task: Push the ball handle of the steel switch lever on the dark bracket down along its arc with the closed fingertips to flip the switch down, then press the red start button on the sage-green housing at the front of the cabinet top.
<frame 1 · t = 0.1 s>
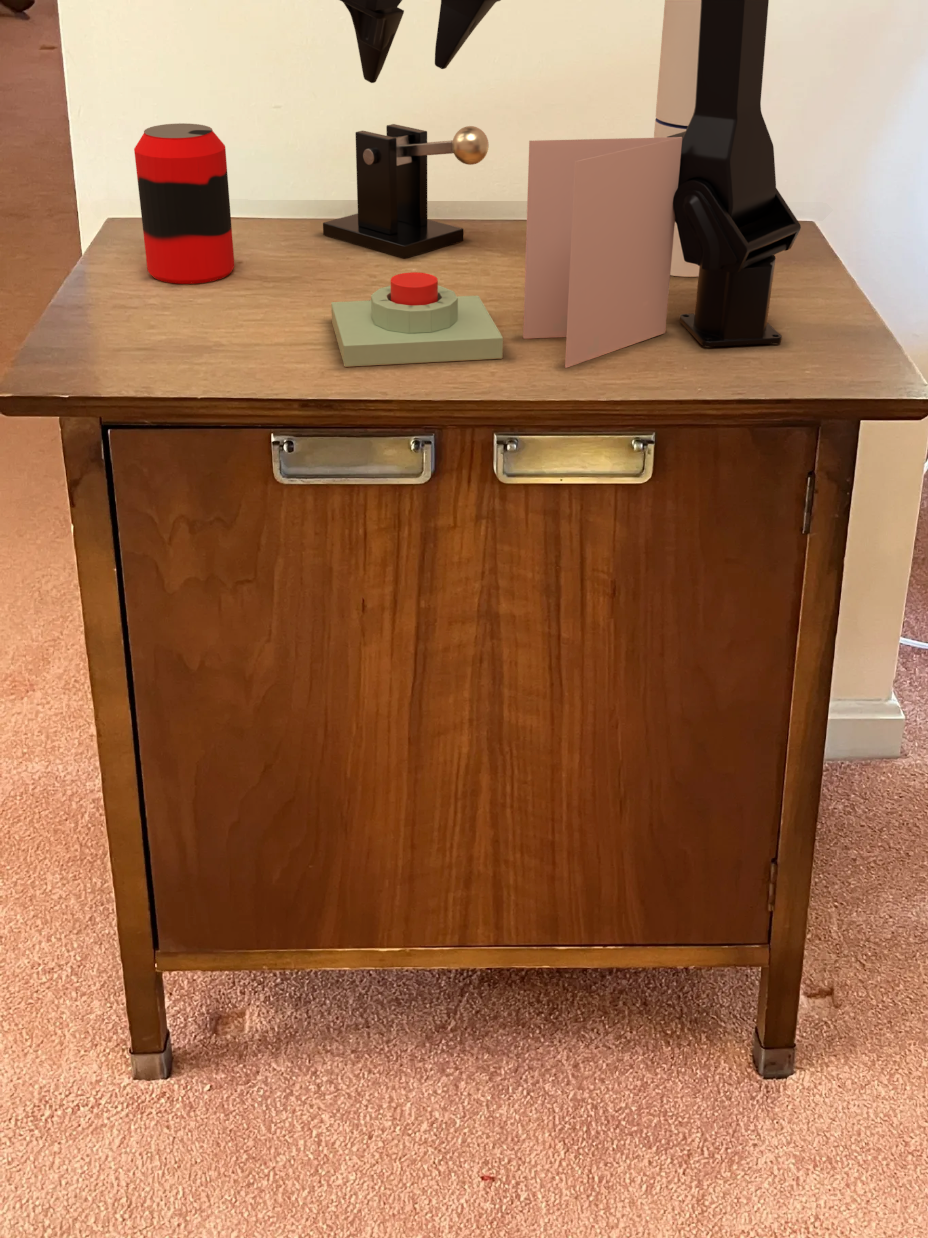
hand: (405, 74, 119), 15 cm above the table, tool pointing down, fingers open, 9 cm apart
switch bracket: (393, 238, 130), on the table
button housing: (414, 340, 107), on the table
cylindrical container: (683, 266, 124), on the table
soda can: (191, 273, 121), on the table
lever: (430, 148, 123), point 9 cm above the table, hinge at 12.0°
greeting card: (602, 350, 105), on the table, touching arm
start button: (414, 290, 104), point 4 cm above the table, slide at 0.1 cm
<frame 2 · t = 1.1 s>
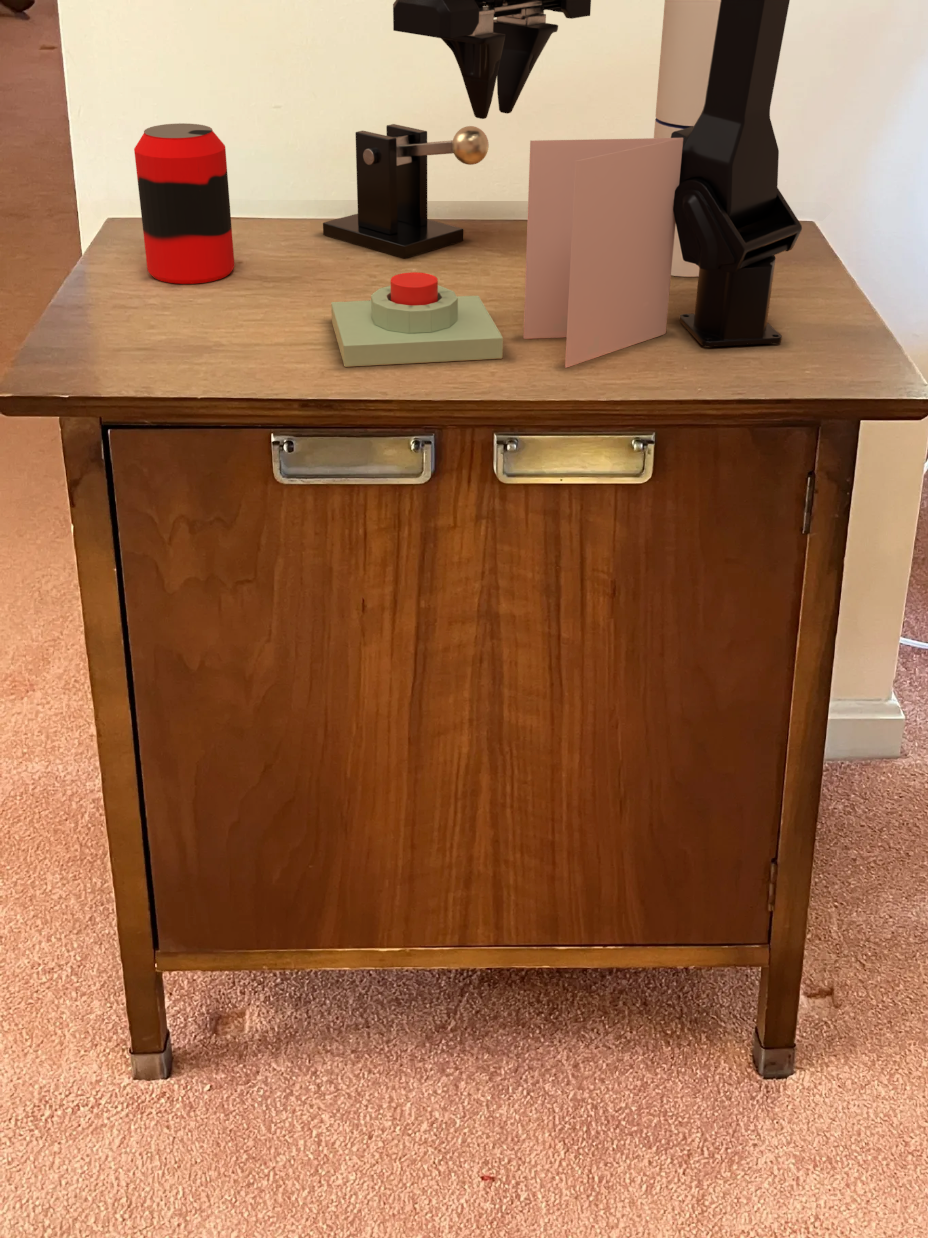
hand: (493, 115, 116), 13 cm above the table, tool pointing down, fingers open, 3 cm apart
greeting card: (602, 351, 105), on the table
everything else where it was.
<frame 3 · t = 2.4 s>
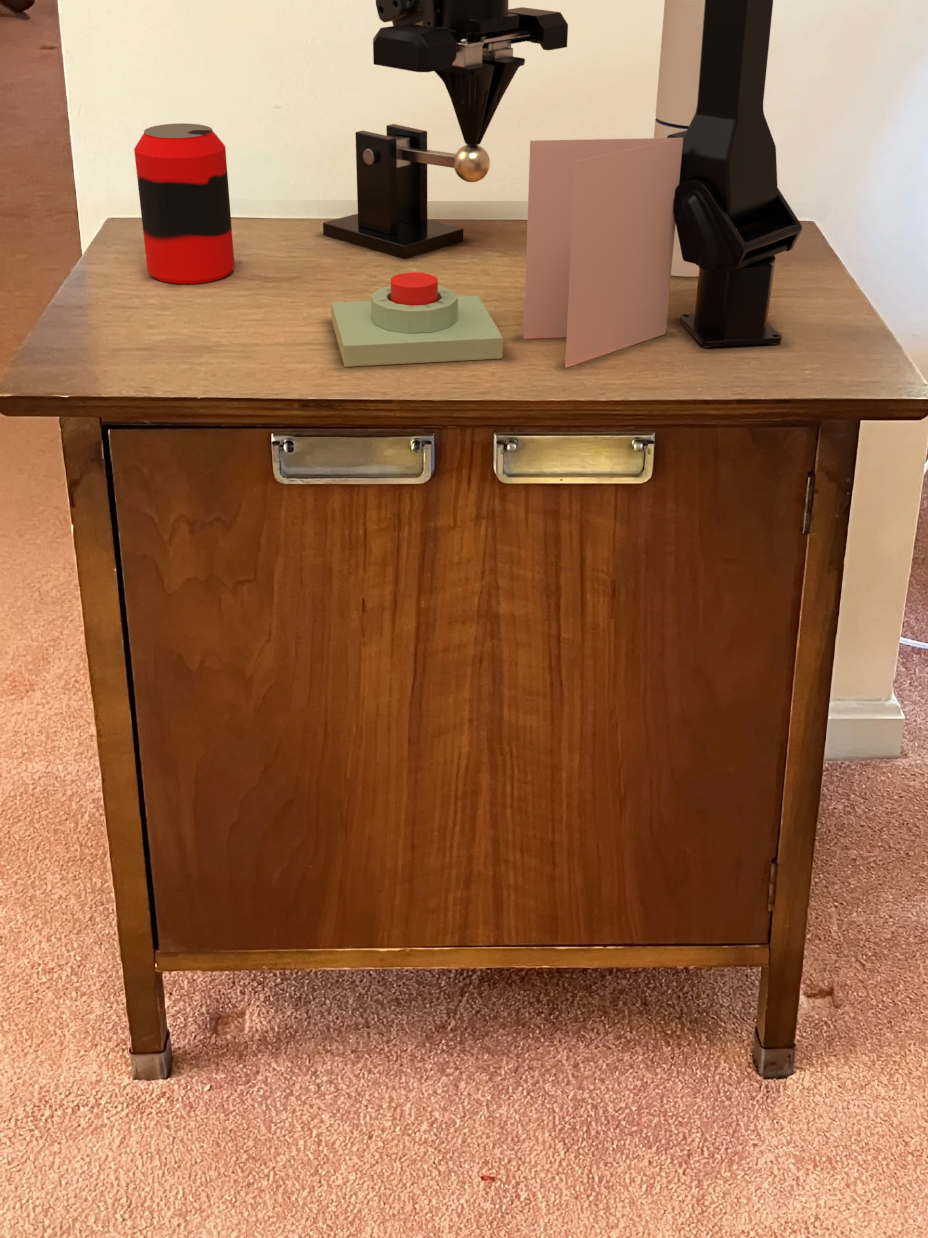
hand: (472, 144, 119), 10 cm above the table, tool pointing down, fingers closed, pressing on lever
lever: (431, 157, 123), point 8 cm above the table, hinge at 3.4°, touching gripper
everything else where it was.
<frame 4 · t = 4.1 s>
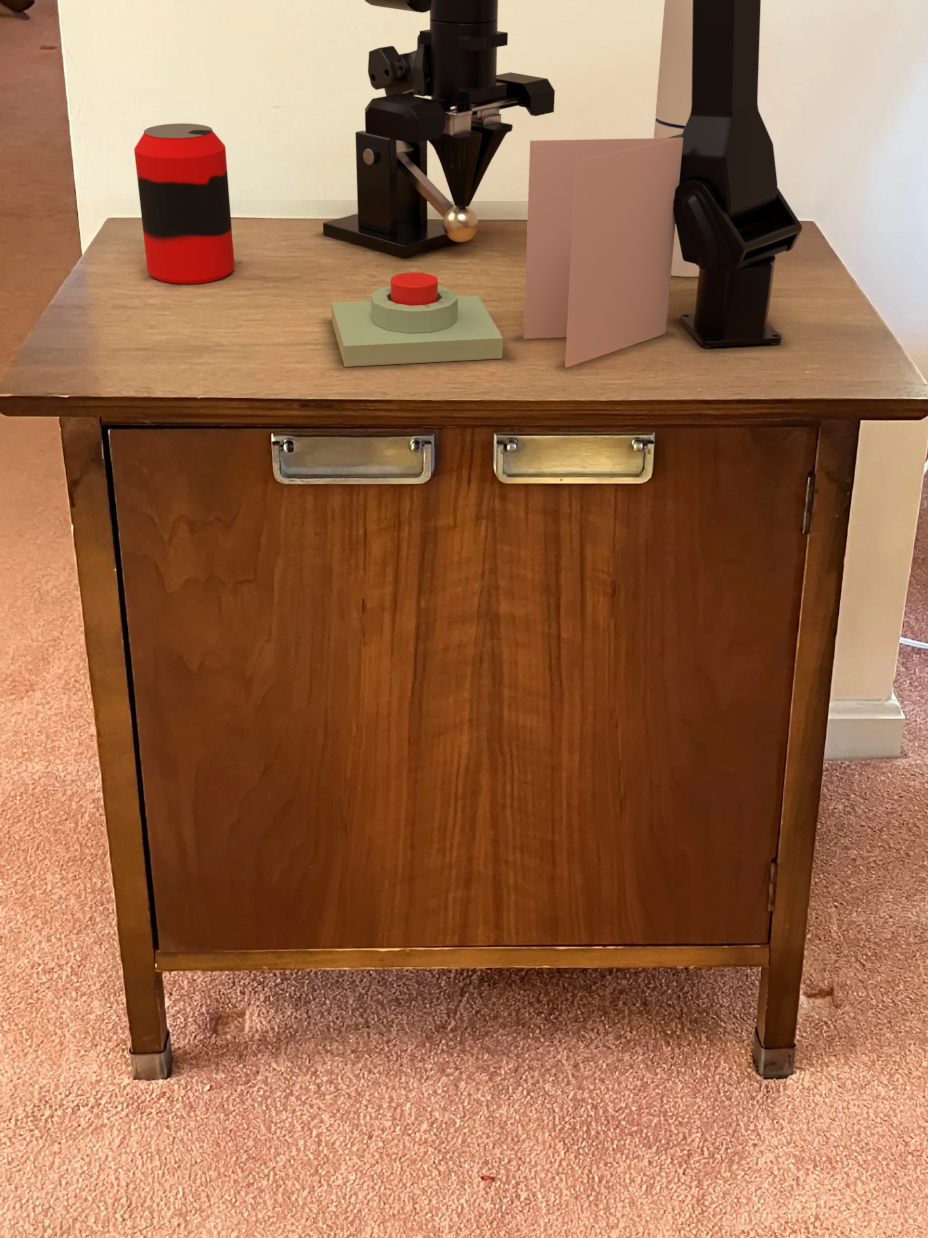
hand: (461, 206, 123), 5 cm above the table, tool pointing down, fingers closed, pressing on lever
lever: (426, 188, 125), point 5 cm above the table, hinge at -29.8°, touching gripper
everything else where it was.
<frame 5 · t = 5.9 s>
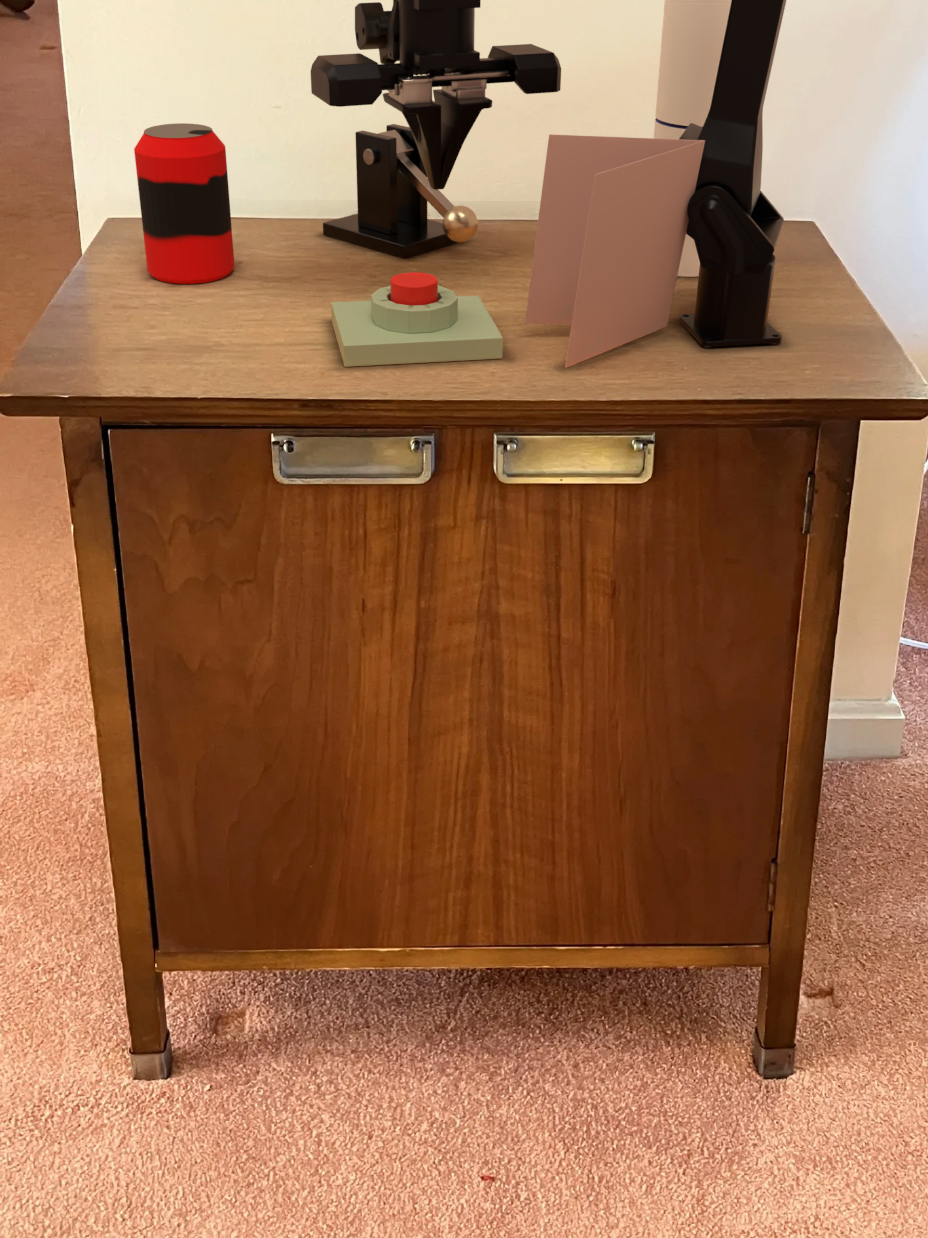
hand: (437, 188, 110), 9 cm above the table, tool pointing down, fingers closed
lever: (426, 188, 125), point 5 cm above the table, hinge at -29.9°
greeting card: (602, 345, 105), on the table, touching arm
everything else where it was.
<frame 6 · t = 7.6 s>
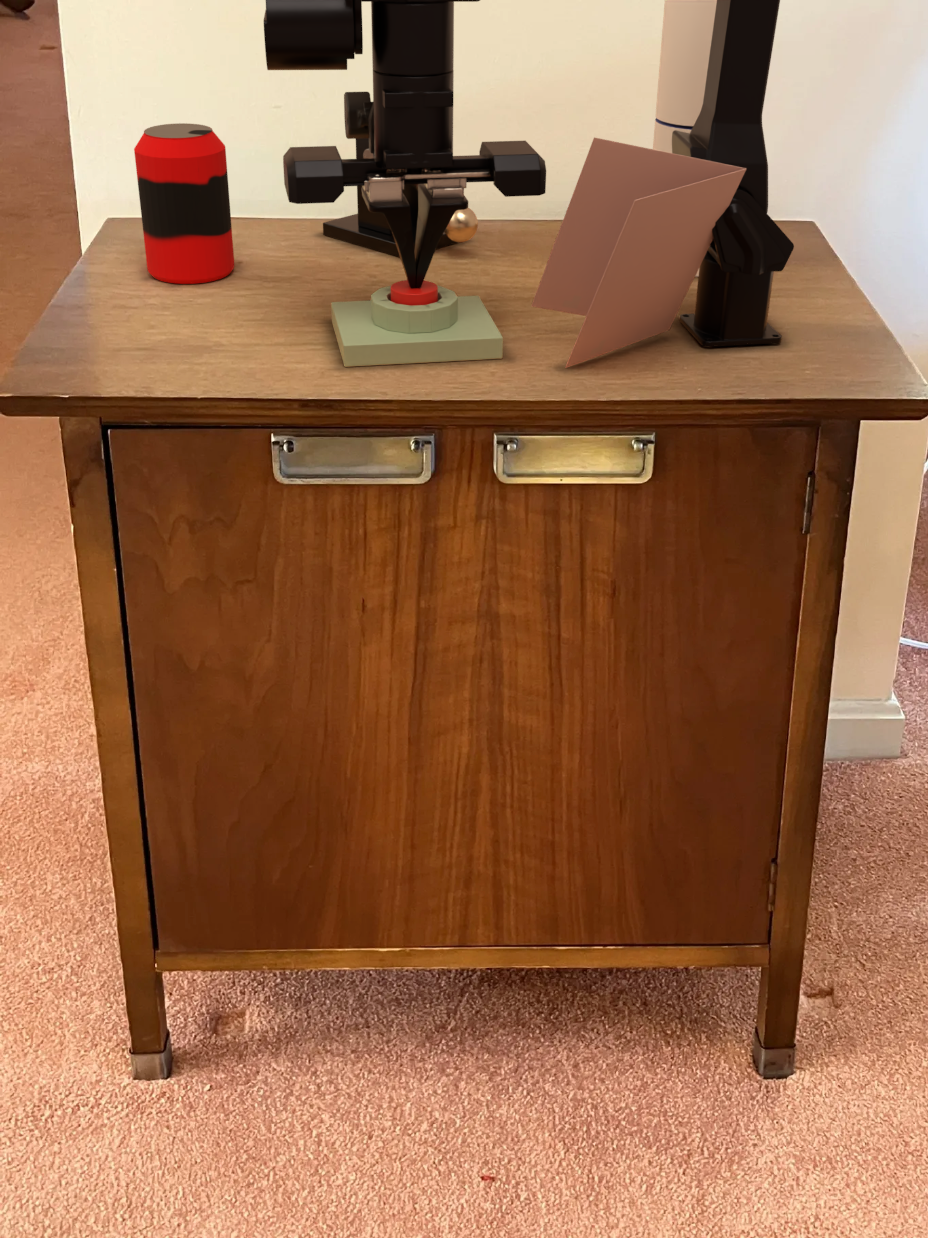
hand: (414, 286, 104), 4 cm above the table, tool pointing down, fingers closed, pressing on start button
start button: (414, 297, 105), point 3 cm above the table, slide at -0.5 cm, touching gripper
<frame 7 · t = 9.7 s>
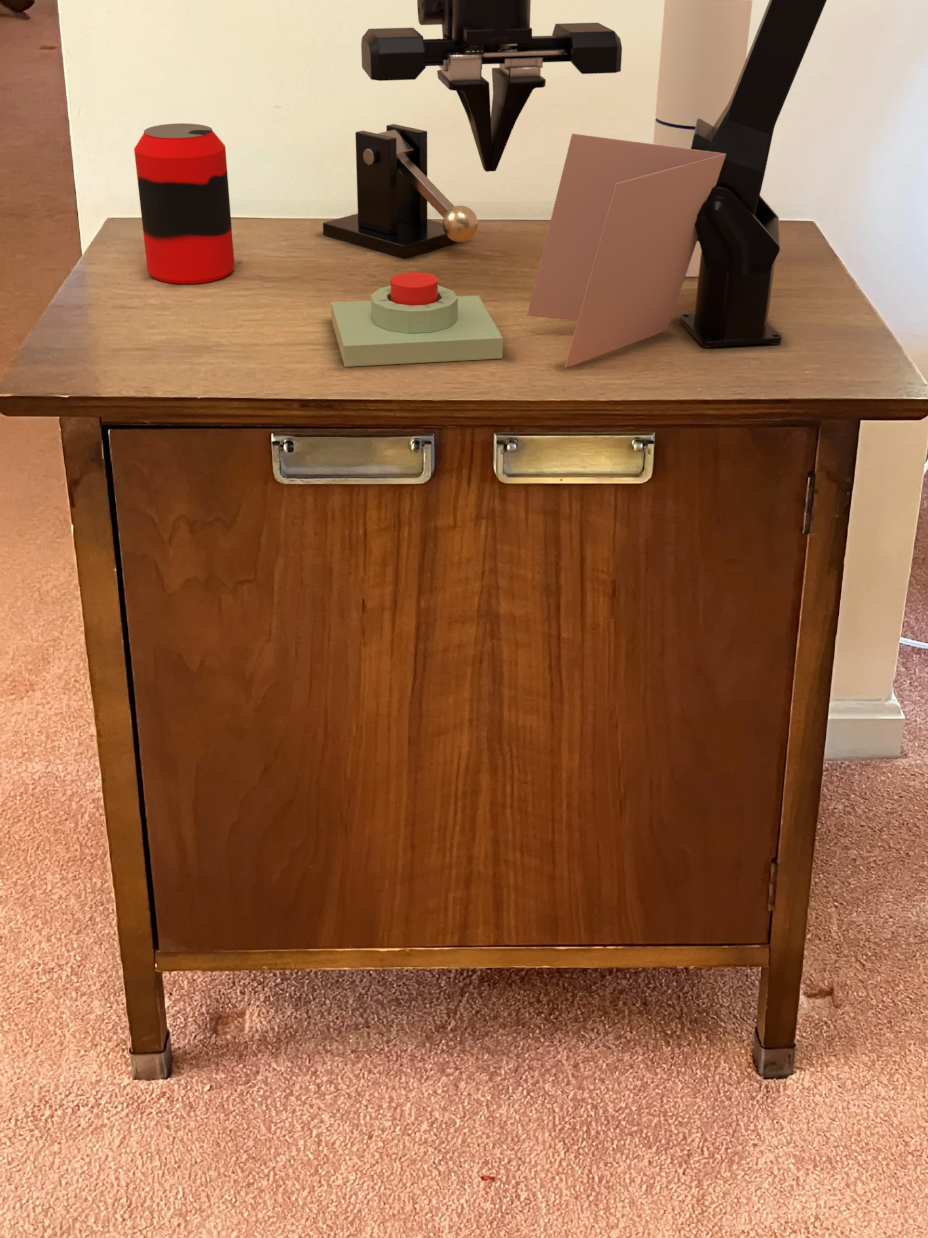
hand: (489, 170, 106), 12 cm above the table, tool pointing down, fingers closed
start button: (414, 290, 104), point 4 cm above the table, slide at 0.1 cm
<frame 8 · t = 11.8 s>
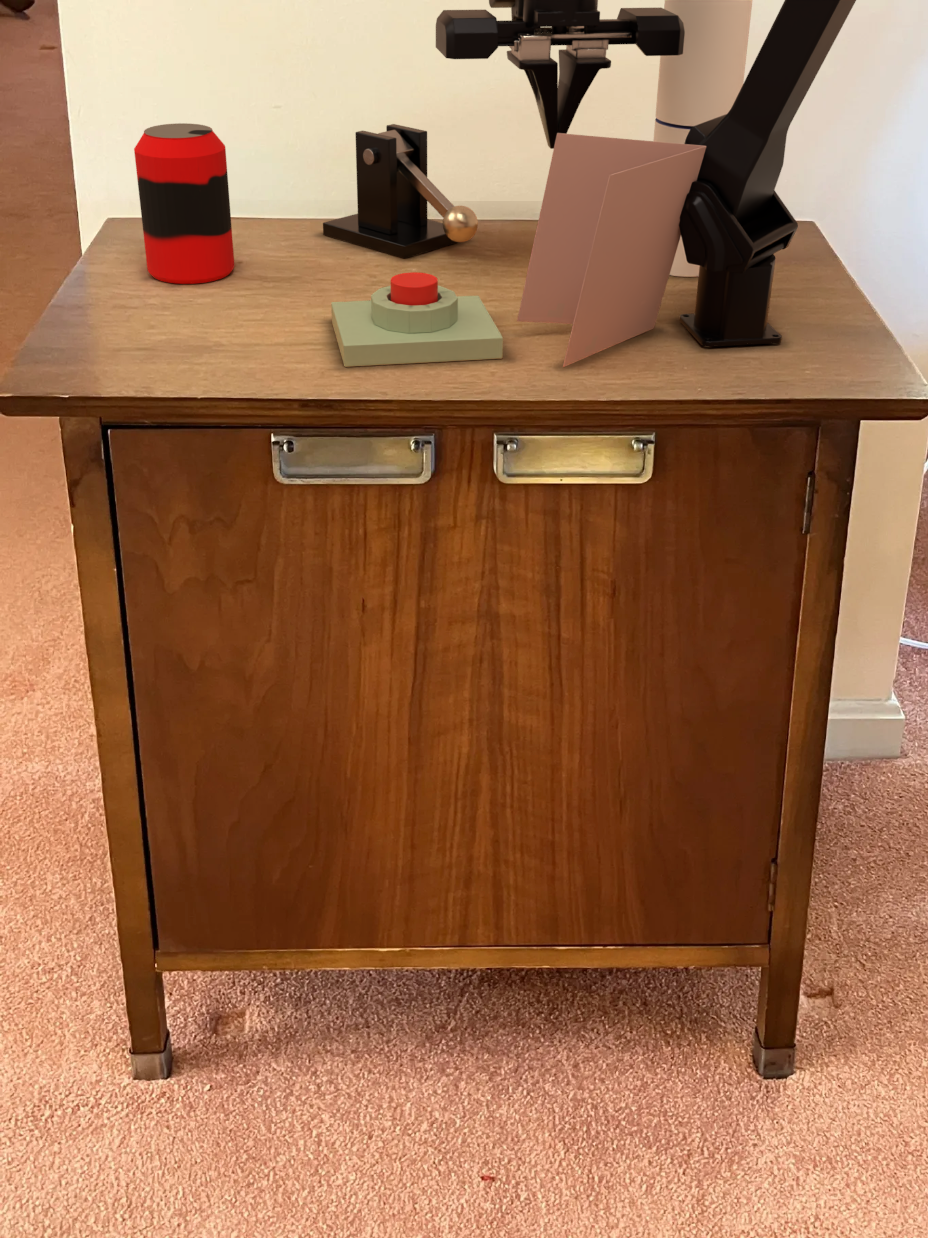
hand: (554, 147, 111), 12 cm above the table, tool pointing down, fingers closed
at the end: lever at -30° (first picture: +12°); start button pushed in 1.1 cm at the most during the clip, back to where it started at the end; start button slide at 0.1 cm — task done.
